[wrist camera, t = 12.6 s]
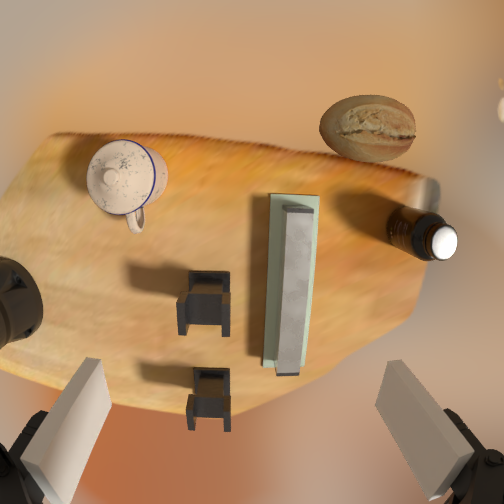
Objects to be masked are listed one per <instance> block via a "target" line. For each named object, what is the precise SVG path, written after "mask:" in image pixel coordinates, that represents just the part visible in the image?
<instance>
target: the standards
mask: <svg viewBox="0 0 504 504" xmlns="http://www.w3.org/2000/svg"><path fill="white" fill-rule="evenodd" d="M230 303H231V293H230V272H204V271H189V292H182V291H181V293H180V295H179V298H178V300H177V302H176V307H177V322H178V335H185V336H186V335H187V332H188V328H189V325H190V324H198V325H222V337H230ZM194 380H195V393H196V395H195V394H189V395H188V401H187V406H186V416H187V424H188V430H195V426H196V419H197V417H205V418H224V432H231V396H230V369H224V368H194Z"/></svg>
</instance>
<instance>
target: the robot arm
mask: <svg viewBox="0 0 504 504" xmlns="http://www.w3.org/2000/svg"><path fill="white" fill-rule="evenodd" d="M42 318H43V304H42V299H41V295H40V292H39V289H38V287H37V285H36V283H35V281H34V279H33V278H32V276H31V275H30V274H29V272H28V271H27V270H26V269H25V268H24V267H23V266H21V265H20V264H19V263H17V262H15V261H13V260H10V259H2V260H0V349H1V348H2V347H4V346H5V345H6V344H7V343H10V342H14V341H18V340H22V339H25V338H28V337H29V336H31V335H32V334H33V333H34V332H35V331H36V330H37V329H38V328H39V327H40V325H41V322H42ZM111 406H112V403H111V400H110V396H109V392H108V388H107V384H106V379H105V375H104V371H103V366H102V361H101V359H95V358H88V357H86V359H85V360H84V362H83V363H82V364H81V366H80V367H79V369H78V370H77V371H76V373H75V374H74V376H73V377H72V379H71V380H70V382H69V383H68V384H67V386H66V387H65V389H64V390H63V392H62V393H61V395H60V396H59V398H58V399H57V401H56V402H55V404H54V405H53V407H52V408H51V410H50V412H45V411H42V410H41V411H39V412H38V413H36V414H35V415H33V416H32V417H31V419H30V420H29V421H28V423H27V424H26V427H24V429H23V430H22V433H20V435H19V436H18V438H17V439H16V441H15V443H14V444H13V446H12V447H11V449H10V450H9V452H7V450H6V448H5V447H4V446H3V445H2V444H1V443H0V504H43V503H42V500H43V498H44V496H46V498H47V499H48V500H49V502H50V503H52V504H70V502H71V500H72V497H73V495H74V492H75V490H76V487H77V485H78V482H79V480H80V477H81V475H82V472H83V470H84V467H85V465H86V463H87V460H88V458H89V456H90V453H91V451H92V448H93V446H94V443H95V441H96V439H97V437H98V435H99V432H100V430H101V428H102V426H103V423H104V421H105V419H106V417H107V415H108V412H109V410H110V408H111ZM375 406H376V408H377V410H378V411H379V413H380V415H381V417H382V418H383V420H384V422H385V423H386V425H387V427H388V429H389V431H390V432H391V434H392V436H393V438H394V439H395V441H396V443H397V445H398V446H399V448H400V450H401V452H402V453H403V455H404V457H405V459H406V461H407V463H408V465H409V466H410V468H411V470H412V472H413V473H414V475H415V477H416V479H417V481H418V483H419V485H420V486H421V488H422V490H423V492H424V494H425V495H426V498H427V499H428V501H430V500H433V499H435V498H438V497H440V496H443V495H444V494H445V493H446V492H447V490H448V489H449V488H450V487H451V488H452V490H453V493H452V494H451V495H450V497H449V498H448V499H447V500H446V502H445V503H444V504H504V455H503V454H502V453H500V452H499V451H497V450H494V449H488V450H486V449H485V448H484V447H483V445H482V444H481V443H480V442H479V440H478V439H477V438H476V437H475V436H474V434H473V433H472V432H471V430H470V429H468V427H467V426H466V424H465V423H463V421H462V420H461V418H460V417H459V416H458V415H457V414H456V413H454V412H453V411H451V410H450V409H448V408H447V409H444V410H442V408H441V407H440V406H439V405H438V403H437V402H436V401H435V400H434V398H433V397H432V396H431V395H430V394H429V392H428V391H427V390H426V389H425V388H424V386H423V385H422V384H421V383H420V381H419V380H418V379H417V378H416V377H415V375H414V374H413V373H412V372H411V371H410V369H409V368H408V367H407V366H406V365H405V363H404V362H403V361H402V360H394V361H388V363H387V367H386V370H385V374H384V377H383V381H382V384H381V387H380V391H379V394H378V397H377V400H376V403H375Z"/></svg>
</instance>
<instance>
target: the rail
mask: <svg viewBox="0 0 504 504" xmlns="http://www.w3.org/2000/svg"><path fill="white" fill-rule="evenodd" d="M313 219H314V209H313V208H311V207H309V206H305V205H282V224H281V246H280V265H279V283H278V300H277V316H276V332H275V346H274V360H273V361H274V366H275V371H276V376H298V375H299V372H300V364H301V356H302V347H303V338H304V329H305V319H306V309H307V298H308V287H309V276H310V263H311V250H312V235H313Z"/></svg>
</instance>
